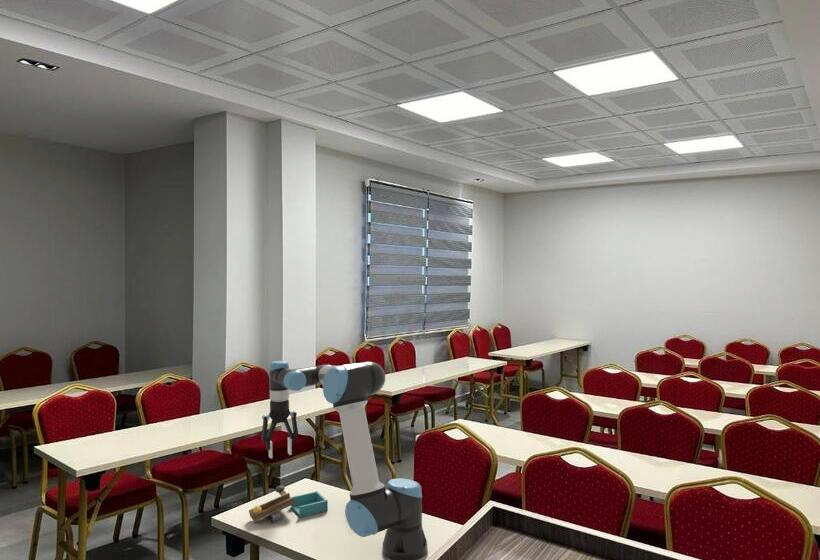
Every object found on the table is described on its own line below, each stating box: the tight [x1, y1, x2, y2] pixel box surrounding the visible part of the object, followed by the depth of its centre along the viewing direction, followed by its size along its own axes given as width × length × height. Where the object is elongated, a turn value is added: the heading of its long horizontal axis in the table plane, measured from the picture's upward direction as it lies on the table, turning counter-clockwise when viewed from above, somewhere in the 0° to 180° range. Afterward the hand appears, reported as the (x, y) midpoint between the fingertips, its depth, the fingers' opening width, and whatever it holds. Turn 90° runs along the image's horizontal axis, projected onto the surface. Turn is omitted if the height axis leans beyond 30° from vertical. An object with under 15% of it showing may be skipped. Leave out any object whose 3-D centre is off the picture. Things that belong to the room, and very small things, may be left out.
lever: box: [248, 484, 295, 523], centre depth 217 cm, size 17×17×4 cm
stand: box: [266, 511, 283, 524], centre depth 213 cm, size 10×4×3 cm, turn 31°
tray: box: [290, 490, 329, 518], centre depth 220 cm, size 11×11×4 cm
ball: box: [252, 505, 262, 514], centre depth 210 cm, size 3×3×3 cm
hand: (280, 455), depth 226 cm, fingers open, 7 cm apart
